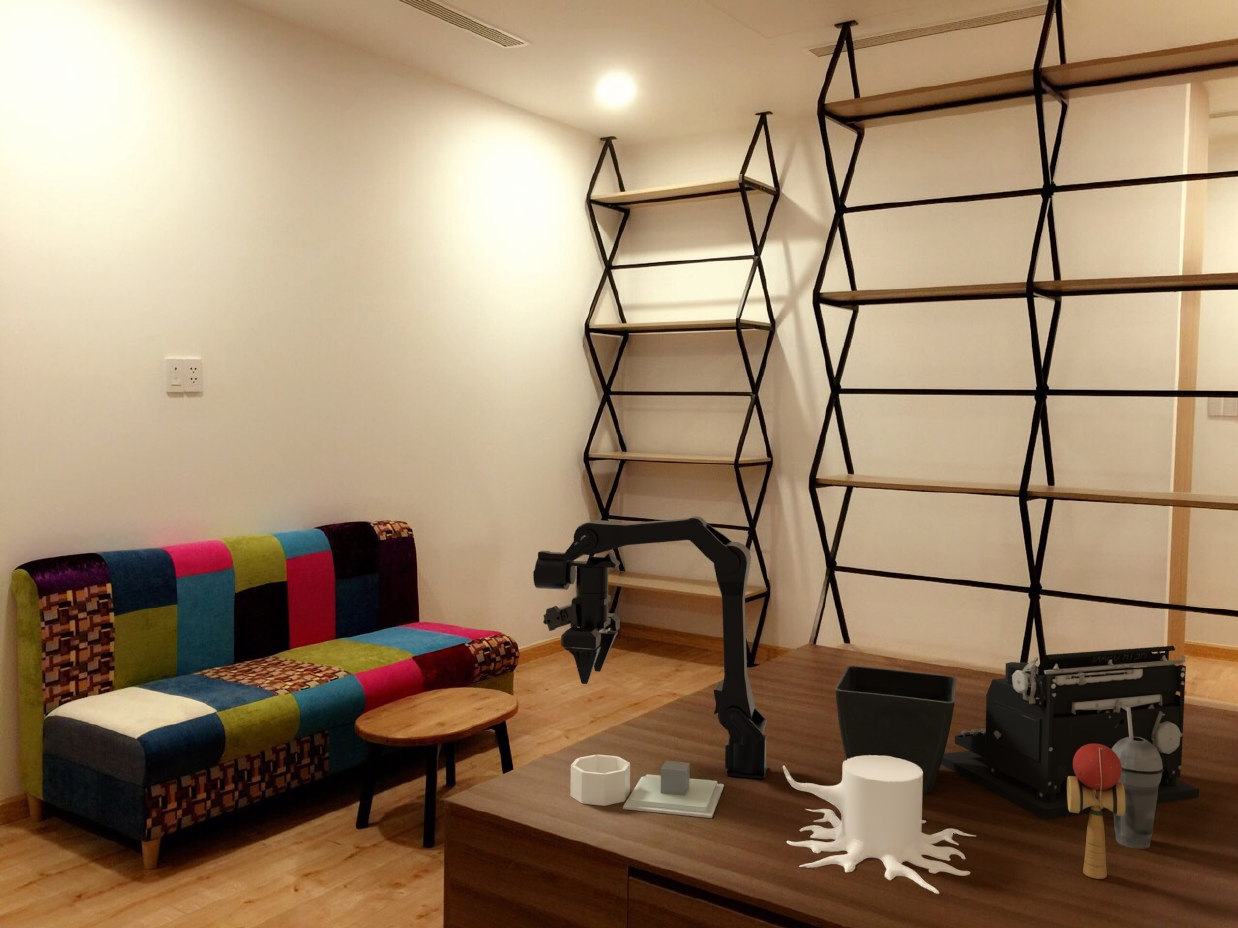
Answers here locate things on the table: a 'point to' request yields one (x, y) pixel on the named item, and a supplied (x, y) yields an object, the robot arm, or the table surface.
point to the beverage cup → (1137, 789)
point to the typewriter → (1074, 723)
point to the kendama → (1096, 799)
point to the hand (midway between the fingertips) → (591, 677)
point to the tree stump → (878, 819)
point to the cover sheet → (675, 801)
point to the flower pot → (896, 716)
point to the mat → (675, 811)
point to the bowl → (600, 780)
